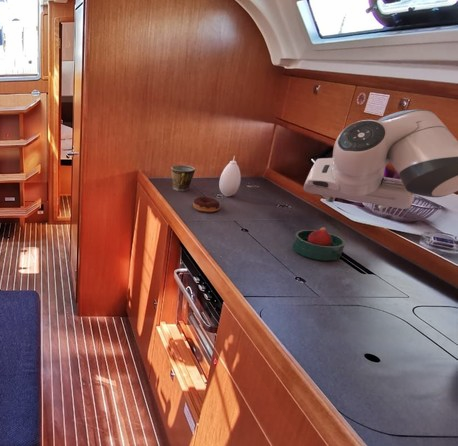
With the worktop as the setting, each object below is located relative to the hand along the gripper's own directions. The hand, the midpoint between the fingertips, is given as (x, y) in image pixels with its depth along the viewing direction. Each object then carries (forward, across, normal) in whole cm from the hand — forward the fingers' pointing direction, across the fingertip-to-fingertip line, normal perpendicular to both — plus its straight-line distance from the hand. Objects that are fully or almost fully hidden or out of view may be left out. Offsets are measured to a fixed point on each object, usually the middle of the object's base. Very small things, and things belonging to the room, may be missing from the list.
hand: (353, 203), depth 99 cm
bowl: (+27, +7, +5) cm, 29 cm away
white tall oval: (+52, +47, -20) cm, 73 cm away
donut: (+37, +47, -5) cm, 60 cm away
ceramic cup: (+48, +65, -16) cm, 83 cm away
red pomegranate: (+27, +7, +5) cm, 28 cm away
